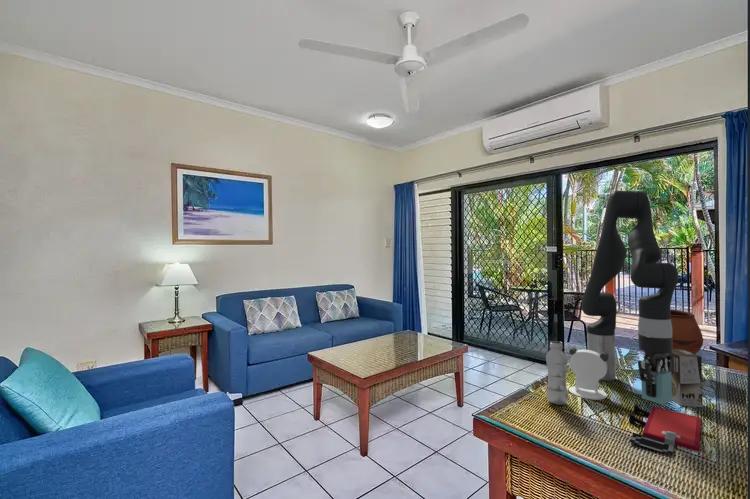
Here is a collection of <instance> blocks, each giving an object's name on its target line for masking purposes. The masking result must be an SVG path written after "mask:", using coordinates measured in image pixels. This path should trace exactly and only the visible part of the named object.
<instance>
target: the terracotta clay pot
mask: <svg viewBox="0 0 750 499" xmlns="http://www.w3.org/2000/svg"><path fill="white" fill-rule="evenodd" d="M670 310H671V324H672V342H673V349H683V350H686V351H689V352H691V353H694V354H696V355H697V353H699V352H700V350H701V349H702V348H703V345H704V344H703V343H704V337H703V333H702V330H701V328H700V326H699V324H698V322H697V319H696V317H695V314H693V313H692V312H689V311H683V310H676V309H670Z"/></svg>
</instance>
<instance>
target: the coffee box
mask: <svg viewBox="0 0 750 499" xmlns="http://www.w3.org/2000/svg"><path fill="white" fill-rule="evenodd" d="M666 355H671V356H672V357H673V358H672V369H671V382H672V401H673V402H675V403H676V404H678V405H679V406H681V407H694V408H703V406H704V405H703V369H702V368H703V367H702V356H700V355H699V354H697V353H696V354H694V353H691V352H689V351H686V350H683V349H673V352H672V353H669V354H666Z"/></svg>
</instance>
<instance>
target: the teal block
mask: <svg viewBox="0 0 750 499" xmlns="http://www.w3.org/2000/svg"><path fill="white" fill-rule="evenodd" d="M651 372H655V371H652V370H651ZM644 375H645V374H644ZM652 378H653V375H652ZM641 399H644V400H647V401H651V402H654V403H657V404H660V405H665V404H667V403H670V402H672V401H673V400H672V382H671V372H670V371H663V370H660V374H658V376H656V397H654V398H653V397H650V396H647V395H646V382H644V381H641Z"/></svg>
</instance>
